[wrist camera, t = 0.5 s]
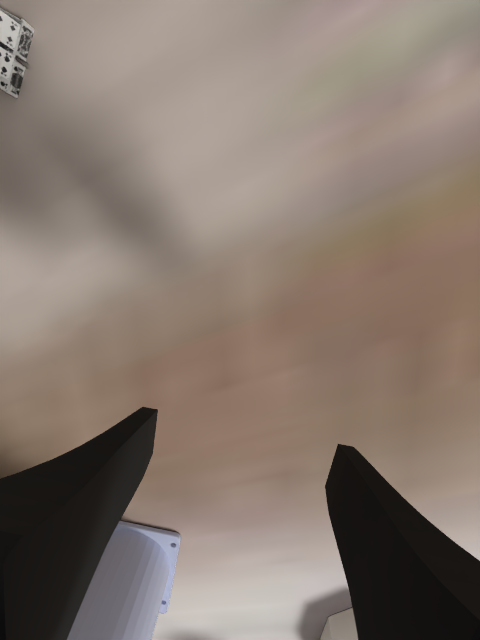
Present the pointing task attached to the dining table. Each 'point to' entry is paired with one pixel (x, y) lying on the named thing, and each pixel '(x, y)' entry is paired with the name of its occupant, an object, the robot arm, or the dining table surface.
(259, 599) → the dining table surface
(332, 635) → the jar dish
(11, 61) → the house of cards
